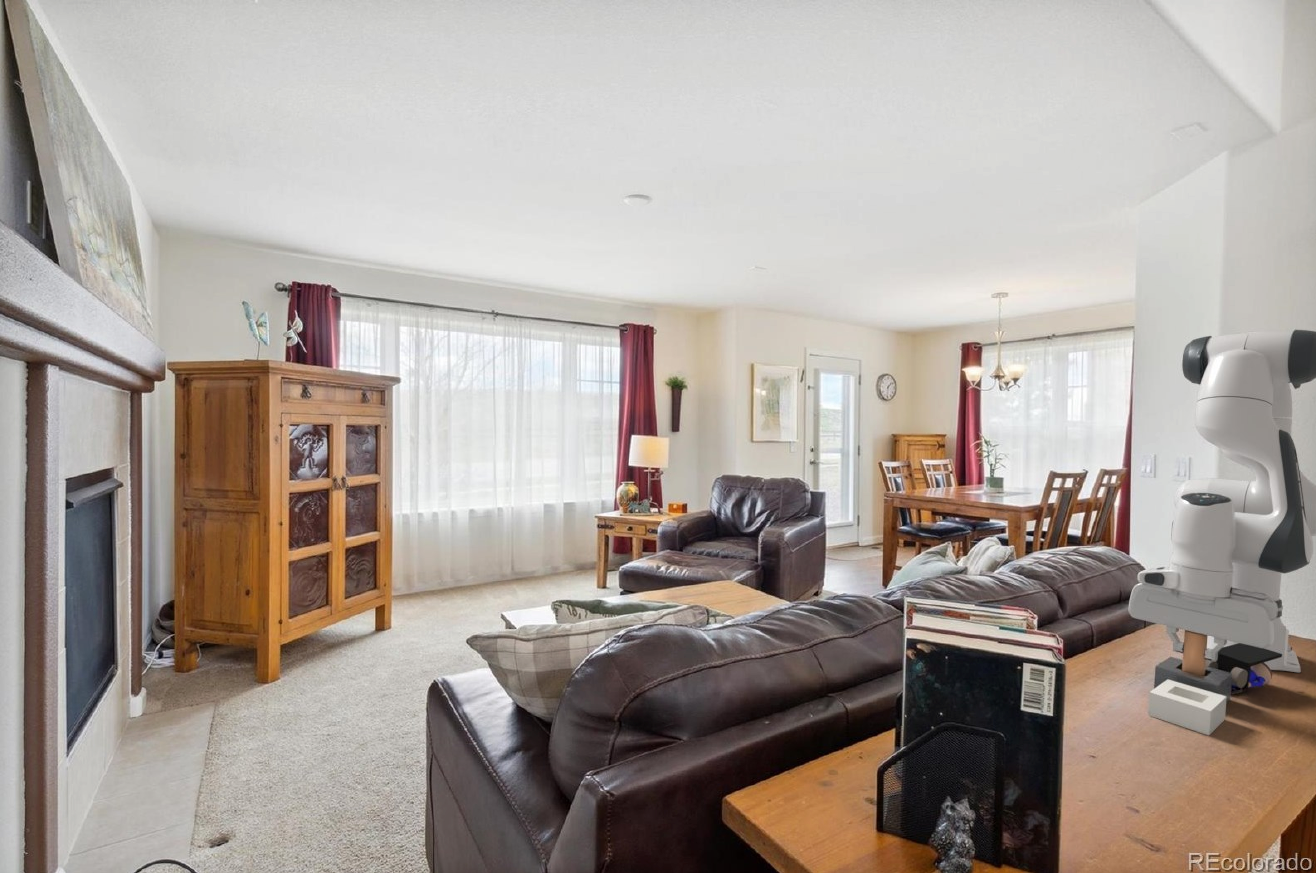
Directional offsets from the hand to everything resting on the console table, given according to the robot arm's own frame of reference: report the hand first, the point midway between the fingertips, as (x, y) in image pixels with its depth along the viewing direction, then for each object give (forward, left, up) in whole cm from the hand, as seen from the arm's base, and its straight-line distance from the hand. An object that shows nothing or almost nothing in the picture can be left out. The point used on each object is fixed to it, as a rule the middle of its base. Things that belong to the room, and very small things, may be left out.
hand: (1194, 655), depth 114 cm
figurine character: (-14, +4, -8) cm, 17 cm away
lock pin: (0, 0, -8) cm, 8 cm away
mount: (0, 0, -8) cm, 8 cm away
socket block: (+12, +2, -8) cm, 14 cm away
